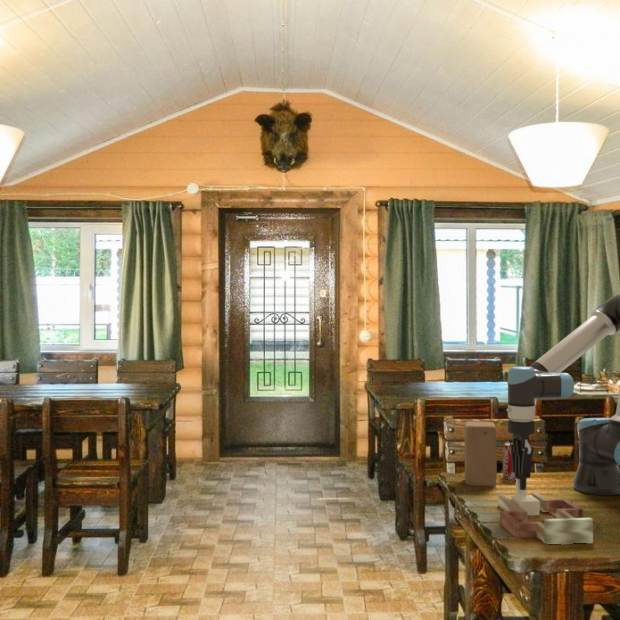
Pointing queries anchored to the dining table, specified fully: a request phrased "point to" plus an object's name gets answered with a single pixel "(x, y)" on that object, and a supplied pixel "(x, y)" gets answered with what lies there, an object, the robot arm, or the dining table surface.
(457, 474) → the dining table surface
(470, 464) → the wooden block
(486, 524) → the dining table surface
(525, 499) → the cream block
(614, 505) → the dining table surface
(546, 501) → the trap lane box
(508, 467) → the soda can
